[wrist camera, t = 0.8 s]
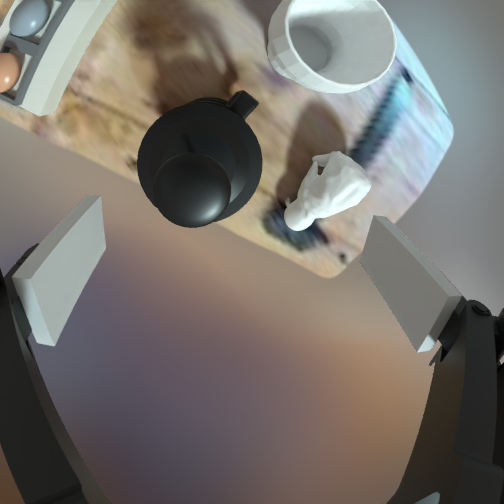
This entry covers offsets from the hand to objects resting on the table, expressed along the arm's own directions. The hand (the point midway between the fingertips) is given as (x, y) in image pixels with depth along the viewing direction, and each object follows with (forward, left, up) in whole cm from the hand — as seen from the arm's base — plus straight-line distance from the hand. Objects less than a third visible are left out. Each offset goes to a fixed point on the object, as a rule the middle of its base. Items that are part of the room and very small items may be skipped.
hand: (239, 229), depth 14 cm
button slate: (-20, -22, -20) cm, 36 cm away
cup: (-11, +9, -26) cm, 29 cm away
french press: (-1, -2, -26) cm, 26 cm away
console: (-20, -22, -25) cm, 39 cm away
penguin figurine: (+7, +11, -26) cm, 29 cm away
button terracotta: (-15, -26, -20) cm, 36 cm away
